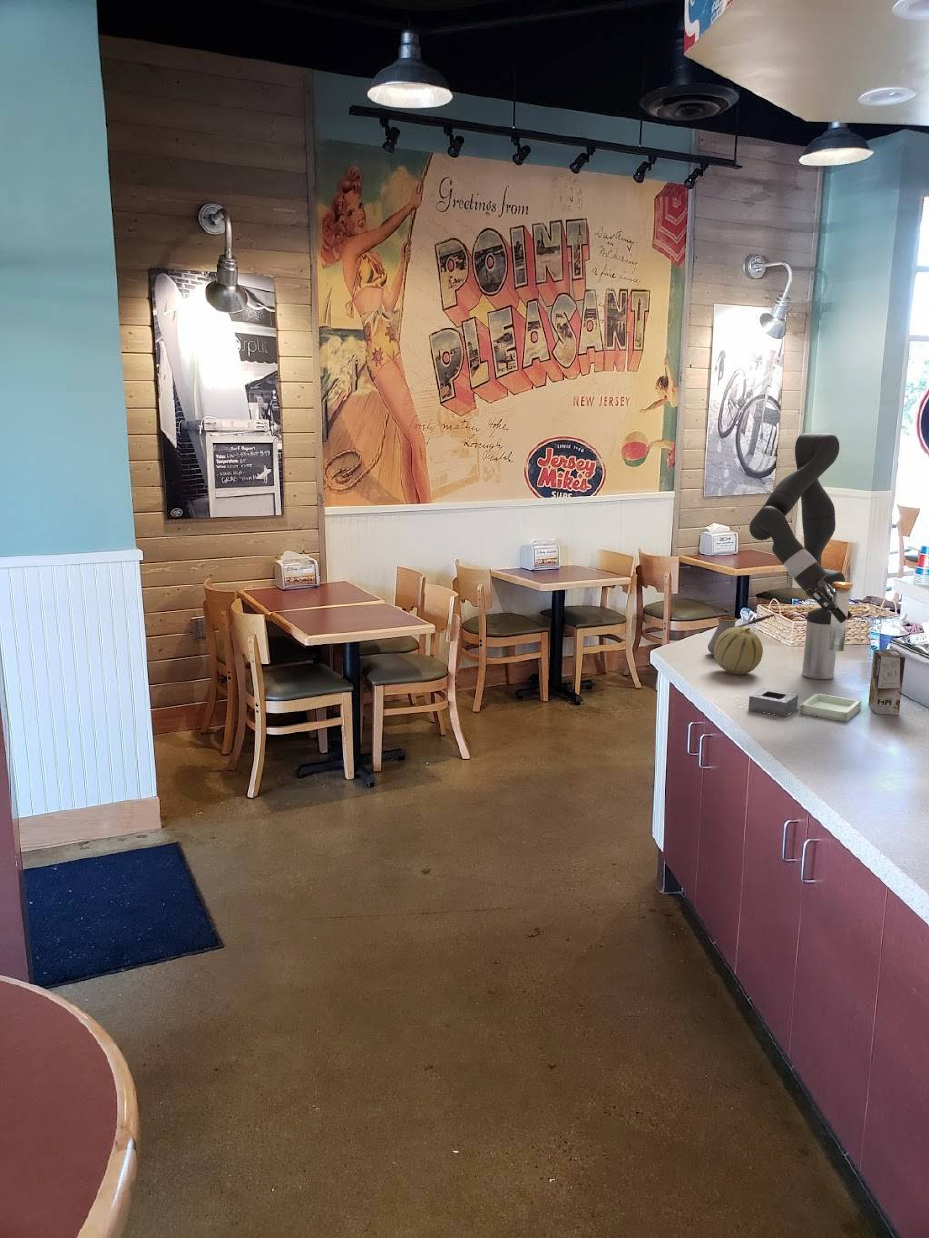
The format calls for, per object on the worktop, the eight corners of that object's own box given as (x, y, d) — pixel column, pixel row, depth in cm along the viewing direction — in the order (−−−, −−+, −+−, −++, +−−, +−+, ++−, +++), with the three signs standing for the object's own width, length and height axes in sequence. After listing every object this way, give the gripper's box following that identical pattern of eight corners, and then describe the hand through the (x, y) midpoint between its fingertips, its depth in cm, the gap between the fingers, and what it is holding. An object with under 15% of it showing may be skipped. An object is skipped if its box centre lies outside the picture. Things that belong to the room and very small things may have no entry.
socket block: (761, 701, 266) (762, 688, 266) (797, 708, 261) (798, 694, 260) (748, 710, 259) (749, 696, 258) (784, 717, 253) (786, 702, 252)
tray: (815, 701, 267) (816, 692, 267) (860, 709, 260) (861, 700, 260) (799, 713, 256) (800, 704, 256) (845, 722, 249) (846, 713, 249)
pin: (829, 646, 258) (835, 581, 254) (848, 649, 255) (855, 583, 251) (823, 649, 254) (830, 583, 250) (843, 652, 251) (849, 585, 247)
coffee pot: (709, 659, 312) (712, 615, 309) (705, 651, 323) (707, 608, 320) (776, 662, 310) (779, 617, 306) (769, 653, 321) (773, 610, 318)
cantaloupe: (717, 665, 306) (720, 619, 302) (764, 670, 299) (768, 624, 296) (707, 675, 293) (710, 628, 289) (756, 682, 286) (760, 633, 283)
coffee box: (899, 715, 255) (906, 657, 252) (874, 713, 257) (880, 656, 253) (891, 705, 264) (898, 649, 261) (867, 704, 265) (873, 648, 262)
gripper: (807, 563, 249) (850, 615, 244) (823, 558, 260) (865, 607, 255) (785, 581, 253) (827, 632, 248) (802, 575, 264) (843, 623, 259)
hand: (846, 619), depth 252 cm, fingers closed on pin, 4 cm apart
